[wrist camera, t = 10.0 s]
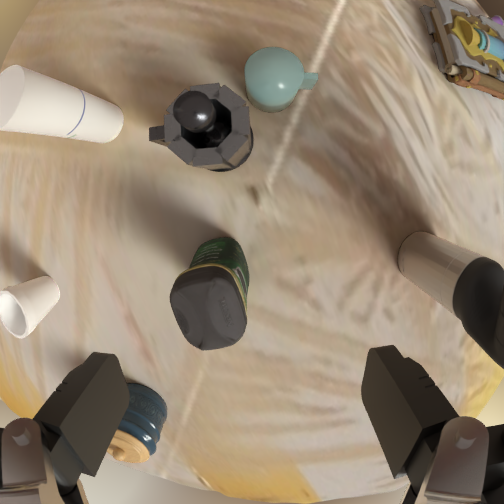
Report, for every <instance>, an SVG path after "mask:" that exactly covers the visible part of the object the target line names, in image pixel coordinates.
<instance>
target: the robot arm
mask: <svg viewBox="0 0 504 504" xmlns="http://www.w3.org/2000/svg"><path fill="white" fill-rule="evenodd" d="M398 265H399V269H400V271H401V273H402V274H403V276H405V277H406V278H407V279H409V280H410V281H411V282H413V283H414V284H415V285H416V286H418V287H419V288H420V289H422V290H423V291H424V292H426V293H427V294H428V295H430V296H431V297H432V298H433V299H435V300H436V301H437V302H439V303H440V304H441V305H442V306H444V307H445V308H446V309H448V310H449V311H450V312H451V313H453V314H454V315H455V316H456V317H458V318H459V319H460V320H461V321H462V324H463V327H464V329H465V330H466V332H467V333H468V334H469V335H470V336H471V337H472V338H473V339H474V340H475V341H476V342H477V343H478V344H479V346H480V347H481V348H482V349H483V350H484V351H485V352H486V353H487V354H488V355H489V356H490V357H491V358H492V359H493V360H494V361H495V362H496V363H497V364H498V365H499V366H501V367H502V368H503V369H504V269H503V268H502V267H501V265H500V264H498V263H497V262H495V261H494V260H491V259H489V258H487V257H484V256H482V255H480V254H478V253H475V252H473V251H470V250H468V249H466V248H463V247H461V246H459V245H456V244H454V243H452V242H449V241H447V240H444V239H442V238H439V237H437V236H434V235H432V234H429V233H427V232H423V231H419V232H415V233H413V234H411V235H410V236H409V237H407V238H406V239H405V241H404V242H403V244H402V246H401V247H400V250H399V254H398ZM361 395H362V401H363V404H364V406H365V409H366V411H367V413H368V416H369V418H370V420H371V423H372V425H373V427H374V430H375V432H376V435H377V437H378V440H379V442H380V444H381V447H382V449H383V452H384V454H385V457H386V459H387V462H388V464H389V467H390V469H391V472H392V475H393V477H394V479H396V478H400V477H403V476H406V475H407V476H408V478H409V480H410V482H409V484H408V486H407V488H406V490H405V492H404V495H403V497H402V499H401V501H400V504H504V424H501V425H496V426H490V427H485V425H484V424H483V423H482V422H480V421H479V420H477V419H475V418H472V417H467V416H462V417H460V416H459V415H458V414H457V412H456V411H455V410H454V408H453V407H452V405H451V404H450V403H449V401H448V400H447V399H446V397H445V396H444V395H443V393H442V392H441V391H440V389H439V388H438V387H437V386H435V383H434V381H433V380H432V379H431V377H429V375H428V373H427V372H426V371H425V369H424V368H423V367H422V366H421V365H420V364H419V363H417V362H415V361H414V360H412V359H411V358H409V357H408V358H404V357H403V356H402V355H401V353H400V352H399V351H398V349H397V348H396V347H395V346H394V345H388V346H382V347H376V348H371V349H370V350H369V352H368V356H367V361H366V367H365V372H364V377H363V381H362V387H361ZM129 400H130V395H129V389H128V387H127V384H126V381H125V378H124V375H123V372H122V369H121V366H120V363H119V360H118V358H117V356H116V355H114V354H108V353H99V352H93V353H92V354H91V355H90V356H89V357H88V358H87V360H86V361H85V362H84V363H83V365H80V366H78V367H77V368H75V369H74V370H72V371H71V372H69V374H68V375H67V376H66V377H65V378H64V380H63V381H62V384H61V383H60V385H59V386H58V387H57V388H56V392H55V391H54V392H53V393H52V395H51V396H50V397H49V398H48V400H47V401H46V402H45V404H44V405H43V406H42V407H41V409H40V410H39V411H38V413H37V414H36V415H35V417H34V418H33V419H30V418H19V419H16V420H13V421H12V422H10V423H9V424H8V425H7V426H6V427H5V428H0V504H89V503H88V500H87V498H86V495H85V492H84V489H83V486H82V483H81V481H80V480H79V479H78V478H79V476H80V474H81V473H84V474H87V475H90V476H93V477H95V475H96V473H97V471H98V469H99V467H100V464H101V462H102V460H103V458H104V456H105V454H106V451H107V449H108V447H109V445H110V443H111V441H112V439H113V437H114V434H115V432H116V430H117V428H118V426H119V424H120V422H121V420H122V418H123V416H124V414H125V412H126V410H127V408H128V405H129Z"/></svg>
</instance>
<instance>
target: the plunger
mask: <svg viewBox="0 0 504 504" xmlns="http://www.w3.org/2000/svg"><path fill="white" fill-rule="evenodd" d="M173 115H174V118H175V119H176V121H177V122H178V123H179V124H181V125H182V126H184V127H185V128H187V129H188V130H189V131H192V132H195V133H200V132H203V141H204V143H205V145H206V146H207V147H208V148H214V147H218V146H219V145H220V144H221V143H222V142H223V141H224V140H225V138H226V137H227V136H228V135H229V134H230V133H231V130H230V128H229V127H228V126H227V125H226V124H224V123H221V122H215V120H216V110H215V108H214V106H213V104H212V103H211V101H210V99H209V98H208V96H207V95H205V94H204V93H202V92H200V91H188V92H186V93H184V94H182V95H181V96H179V97H178V99H177V100H176V101H175V103H174V106H173Z"/></svg>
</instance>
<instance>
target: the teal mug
mask: <svg viewBox="0 0 504 504" xmlns="http://www.w3.org/2000/svg"><path fill="white" fill-rule="evenodd" d="M317 81H318V73H304V69H303V66H302V63H301V62H300V60H299V59H298V58H297V56H295V55H294V54H293V53H291V52H290V51H288V50H286V49H283V48H278V47H267V48H263V49H260V50H258V51H256V52H255V53H253V54H252V55H251V56H250V57H249V59H248V60H247V62H246V65H245V82H246V92H247V97H248V99H249V101H250V103H251V104H252V105H253V106H254V107H256V108H257V109H259V110H261V111H264V112H269V113H274V112H279V111H282V110H284V109H286V108H287V107H288V106H289V105H290V104H291V103H292V101H293V99H294V97H295V95H296V93H297V91H298V89H309V90H311V89H312V88H313V86H314V85H315V84H316V82H317Z"/></svg>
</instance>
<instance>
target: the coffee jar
mask: <svg viewBox="0 0 504 504" xmlns="http://www.w3.org/2000/svg"><path fill="white" fill-rule="evenodd" d="M248 286H249V271H248V266H247V262H246V259H245V256H244V253H243V251H242V249H241V246H240V245H239V243H238V242H237V241H235V240H234V239H232V238H228V237H224V238H218V239H213V240H210V241H208V242H205V243H204V244H202V245H201V246H200V247H199V249H198V250H197V252H196V254H195V256H194V258H193V261H192V263H191V265H190V267H189V269H187V270H185V271H184V272H182V273H181V274H180V275H179V276H178V277H177V278H176V280H175V283H174V285H173V288H172V290H171V293H170V303H171V307H172V310H173V313H174V315H175V318H176V321H177V323H178V325H179V327H180V329H181V331H182V333H183V335H184V337H185V338H186V339H187V341H188V342H189V343H190V344H192V345H193V346H195V347H196V348H199V349H201V350H213V349H219V348H224V347H228V346H231V345H234V344H235V343H236V342H238V341H239V340H240V339H241V337H242V336H243V334H244V332H245V328H246V325H247V293H248Z"/></svg>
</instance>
